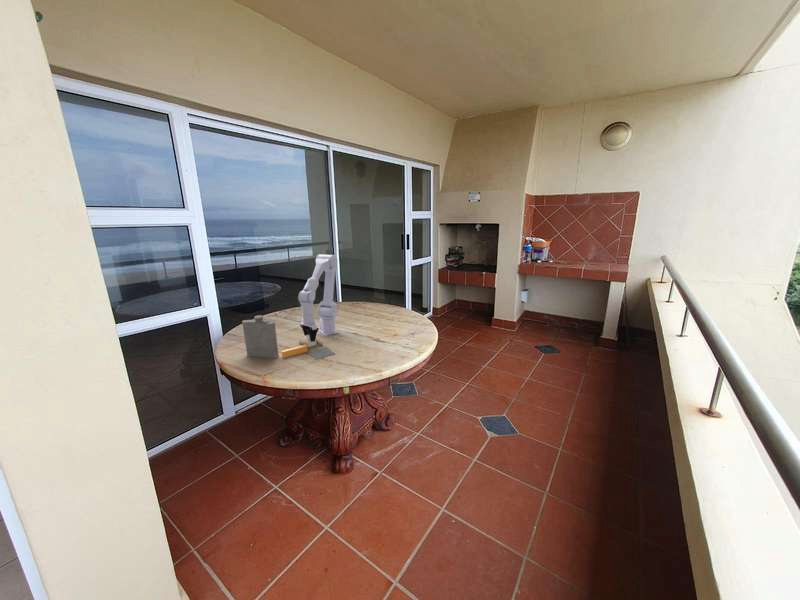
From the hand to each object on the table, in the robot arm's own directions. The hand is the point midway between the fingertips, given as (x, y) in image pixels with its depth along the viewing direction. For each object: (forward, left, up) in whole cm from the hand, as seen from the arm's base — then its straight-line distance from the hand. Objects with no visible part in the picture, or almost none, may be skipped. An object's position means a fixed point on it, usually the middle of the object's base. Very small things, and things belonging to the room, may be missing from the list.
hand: (310, 338), depth 165 cm
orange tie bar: (+6, -10, -3) cm, 12 cm away
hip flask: (-2, -23, -4) cm, 23 cm away
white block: (0, 0, -3) cm, 3 cm away
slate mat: (+13, 0, -3) cm, 13 cm away
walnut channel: (0, 0, -3) cm, 3 cm away
